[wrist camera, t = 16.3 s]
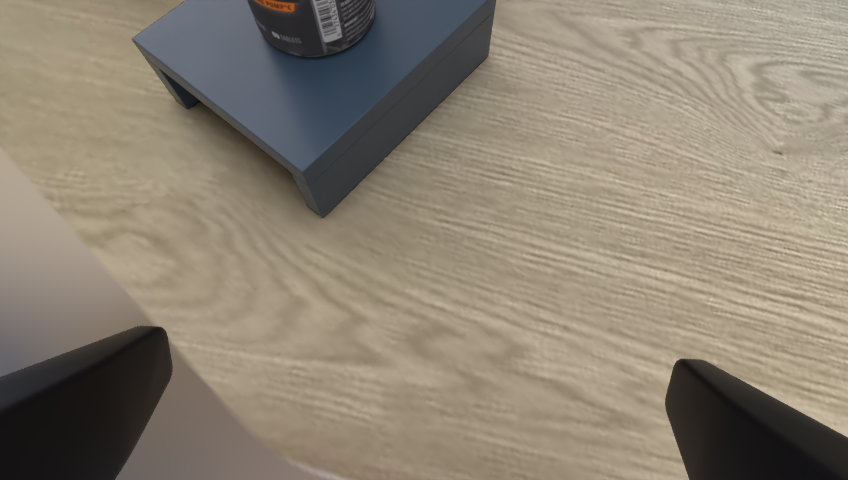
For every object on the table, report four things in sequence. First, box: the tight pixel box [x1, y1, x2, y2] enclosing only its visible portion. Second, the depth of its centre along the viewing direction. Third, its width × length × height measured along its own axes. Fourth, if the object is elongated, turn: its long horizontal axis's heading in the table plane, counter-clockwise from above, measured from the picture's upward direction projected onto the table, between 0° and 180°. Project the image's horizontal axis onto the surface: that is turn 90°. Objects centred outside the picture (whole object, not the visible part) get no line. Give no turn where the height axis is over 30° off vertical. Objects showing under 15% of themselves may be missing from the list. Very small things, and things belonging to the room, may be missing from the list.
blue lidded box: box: [132, 0, 496, 218], centre depth 27 cm, size 14×12×4 cm
